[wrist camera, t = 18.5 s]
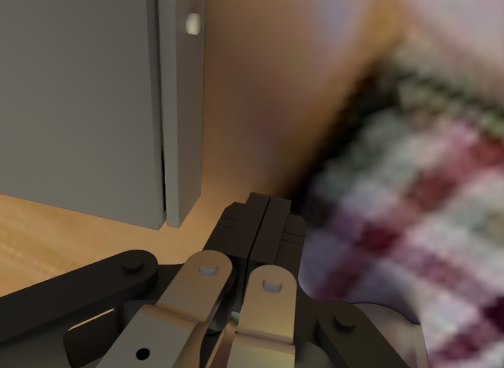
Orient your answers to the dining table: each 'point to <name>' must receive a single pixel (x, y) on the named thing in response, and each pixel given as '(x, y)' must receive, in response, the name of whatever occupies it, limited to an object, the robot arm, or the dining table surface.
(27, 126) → the block
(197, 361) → the robot arm
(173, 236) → the dining table surface
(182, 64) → the tray
